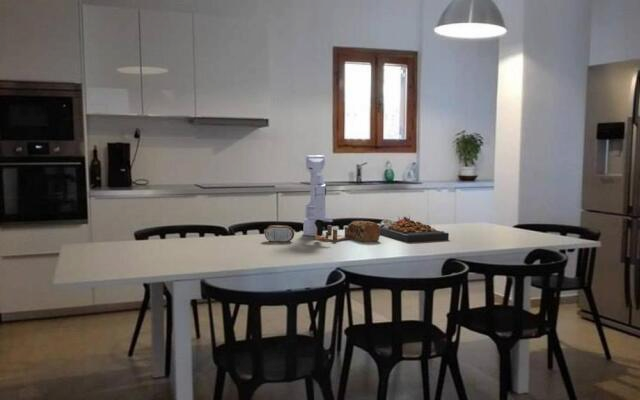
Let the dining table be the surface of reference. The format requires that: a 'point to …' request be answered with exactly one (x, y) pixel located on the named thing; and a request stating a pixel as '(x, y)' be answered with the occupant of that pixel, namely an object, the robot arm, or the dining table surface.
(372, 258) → the dining table surface
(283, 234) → the tin
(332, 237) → the stool frame
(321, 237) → the gate leg
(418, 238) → the food platter
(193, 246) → the dining table surface
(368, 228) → the bread
